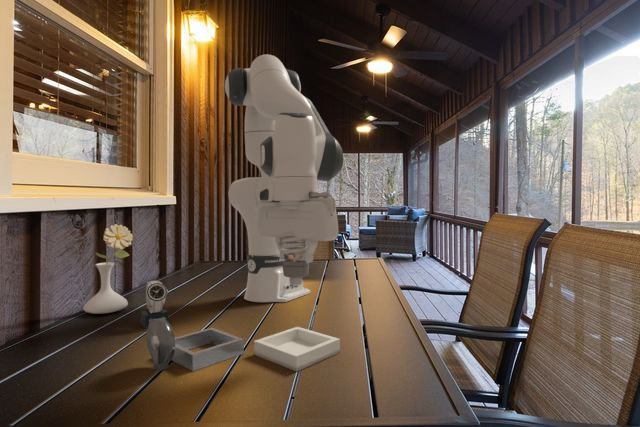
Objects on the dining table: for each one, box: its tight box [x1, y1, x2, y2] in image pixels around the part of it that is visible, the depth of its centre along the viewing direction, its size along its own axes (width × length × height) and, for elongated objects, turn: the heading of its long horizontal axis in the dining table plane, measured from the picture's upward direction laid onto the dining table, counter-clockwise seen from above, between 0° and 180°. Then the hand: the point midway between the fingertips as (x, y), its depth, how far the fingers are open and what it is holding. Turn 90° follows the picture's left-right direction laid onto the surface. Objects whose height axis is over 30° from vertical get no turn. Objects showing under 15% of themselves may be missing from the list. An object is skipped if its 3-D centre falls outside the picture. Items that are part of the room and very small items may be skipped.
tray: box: [253, 326, 341, 372], centre depth 82 cm, size 12×12×3 cm
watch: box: [140, 280, 169, 329], centre depth 103 cm, size 6×8×11 cm
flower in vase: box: [82, 223, 133, 315], centre depth 116 cm, size 13×11×25 cm
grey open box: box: [146, 318, 245, 372], centre depth 80 cm, size 16×12×9 cm
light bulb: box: [282, 232, 310, 287], centre depth 82 cm, size 6×6×12 cm
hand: (295, 260), depth 82 cm, fingers closed on light bulb, 5 cm apart
